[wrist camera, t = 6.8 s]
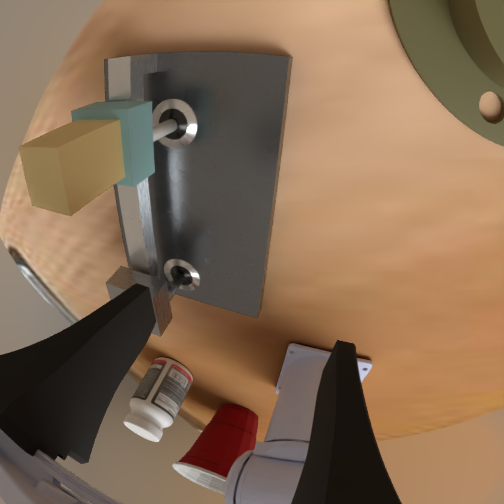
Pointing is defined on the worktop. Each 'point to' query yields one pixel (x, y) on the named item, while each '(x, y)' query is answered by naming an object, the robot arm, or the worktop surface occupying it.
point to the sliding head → (92, 154)
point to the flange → (457, 54)
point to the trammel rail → (139, 204)
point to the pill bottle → (158, 398)
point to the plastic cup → (219, 447)
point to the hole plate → (215, 171)
